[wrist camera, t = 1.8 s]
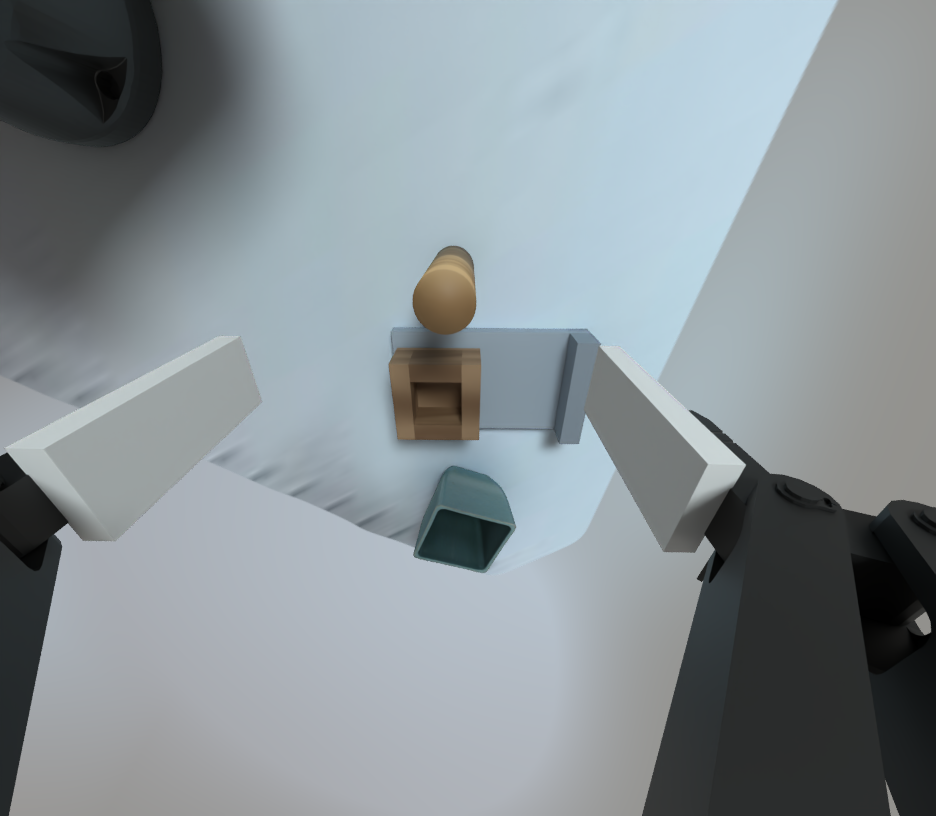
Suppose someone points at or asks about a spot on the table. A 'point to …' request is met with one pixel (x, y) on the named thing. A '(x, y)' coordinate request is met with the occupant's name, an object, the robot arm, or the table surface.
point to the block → (436, 393)
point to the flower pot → (465, 522)
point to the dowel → (446, 292)
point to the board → (523, 374)
